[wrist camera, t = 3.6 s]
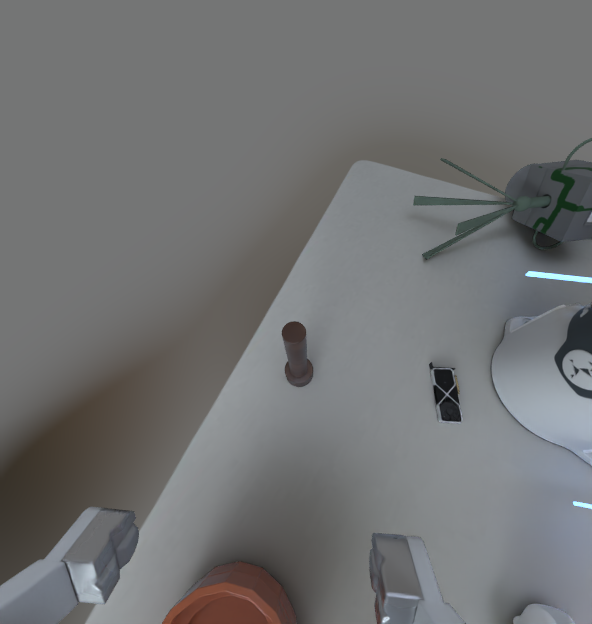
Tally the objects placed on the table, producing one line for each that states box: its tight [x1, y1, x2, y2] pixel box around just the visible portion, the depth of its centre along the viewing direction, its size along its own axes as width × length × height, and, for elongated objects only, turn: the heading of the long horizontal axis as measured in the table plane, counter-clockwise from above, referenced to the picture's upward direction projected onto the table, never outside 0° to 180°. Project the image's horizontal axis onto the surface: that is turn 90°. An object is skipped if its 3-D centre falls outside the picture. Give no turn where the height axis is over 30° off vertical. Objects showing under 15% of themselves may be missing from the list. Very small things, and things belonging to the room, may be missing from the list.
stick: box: [282, 322, 313, 387], centre depth 32 cm, size 4×4×14 cm
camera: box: [413, 138, 592, 259], centre depth 42 cm, size 16×16×25 cm
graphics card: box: [429, 362, 463, 424], centre depth 35 cm, size 7×1×3 cm
